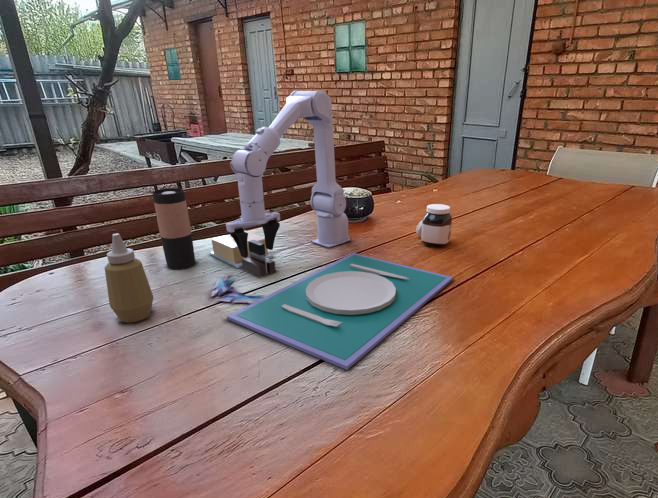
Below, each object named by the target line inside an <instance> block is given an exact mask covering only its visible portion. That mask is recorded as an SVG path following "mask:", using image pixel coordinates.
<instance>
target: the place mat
mask: <svg viewBox="0 0 658 498" xmlns="http://www.w3.org/2000/svg"><path fill="white" fill-rule="evenodd" d="M452 281H454V277H453V276H450V275H446V274H441V273H437V272H433V271H430V270H425V269H422V268H417V267H413V266H409V265H405V264H400V263H397V262H393V261H389V260H385V259H381V258H377V257H372V256H369V255H364V254H360V253H356V252H352V253H349V254H348V255H346V256H344V257H342V258H340V259H338V260H336V261H334V262H332V263H330V264H328V265H325V266H324V267H322V268H320V269H317V270H316V271H314V272H312V273H310V274H308V275H306V276H304V277H302V278H300V279H297V280H295V281H294V282H292V283H290V284H288V285H286V286H284V287H282V288H280V289H278V290H277V291H274V292H272V293H270V294H268V295H266V296H263V297H261V298H262V299H260V300H258V301H256V302H254V303H250V304H248V305H247V306H244V307H242V308H240V309H238V310H237V311H234V312H232V313H230V314H228V315H227V316H226V319H227V320H228V321H230V322H232V323H235V324H238V325H239V326H242V327H245V328H247V329H249V330H252V331H254V332H256V333H259V334H261V335H263V336H266V337H268V338H270V339H273V340H275V341H277V342H279V343H282V344H284V345H287V346H288V347H291V348H294V349H296V350H297V351H301V352H303V353H305V354H308V355H310V356H312V357H315V358H317V359H319V360H322V361H325V362H327V363H329V364H332V365H334V366H336V367H338V368H341V369H343V370H345V371H348V370H349V369H351V367H353V366H354V365H355V364H356V363H357V362H359V361H360V360H361V359H362V358H363V357H364V356H365V355H366V354H368V353H369V352H370V351H371V350H373V349H374V348H375V347H376V346H377V345H379V344H380V343H381V342H382V341H383V340H384V339H385V338H387V337H388V336H389V335H391V333H393V332H394V331H395V330H396V329H397V328H399V327H400V326H401V325H402V324H403V323H404V322H405V321H407V320H409V318H410V317H411V316H412V315H414V314H415V313H417V311H418V310H420V309H421V308H422V307H423V306H424V305H425V304H427V303H428V302H429V301H431V299H432V298H434V297H435V296H436V295H437V294H438V293H439V292H440V291H442V290H443V289H444V288H445V287H447V286H448V285H449V284H450V283H451V282H452Z"/></svg>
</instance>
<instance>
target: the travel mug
mask: <svg viewBox="0 0 658 498" xmlns="http://www.w3.org/2000/svg"><path fill="white" fill-rule="evenodd" d="M151 193H152V200H153V204H154V205H153V206H154V209H155V215H156V221H157V226H158V231H159V236H160V241H161V245H162V250H163V254H164V258H165V262H166V266H167V268H168V269H170V270H171V269H172V270H184V269H188V268H190V267H192V266H194V265H195V264H196V256H195V249H194V242H193V233H192V227H191V222H190V216H189V210H188V204H187V199H186V194H185V190H184V189H183V188H179V187H168V188H159V189H156V190H154V191H152V192H151Z"/></svg>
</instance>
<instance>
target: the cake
mask: <svg viewBox="0 0 658 498" xmlns="http://www.w3.org/2000/svg"><path fill="white" fill-rule="evenodd" d="M243 230H244V229H243ZM244 232H246V233H248V238H247V249H248V257H249V258H250V253H249V243H248V241H250V240H256V241H258V242H261V243H264V244H265V236H262V235H258V234H257V233H253V232H250V231H248V230H244ZM211 244H212V251H209V255H210V256H212V257H214V258H216V259H218V260H220V261H222V262H225V263H226V264H228V265H230V266H233V267H234V268H237V269H243V265H242V258H245V257H242V256H241V254H240V251H239V249H238V246H237V244H236V242H235V241H234V239H233V238H232V236H231V235H229V234H226V235H220V236H217V237H213V238H211ZM265 253H266V254H264V255H265V256H266V258H268V259H273V257H274V256H273V254H270V253H269V249H267V248H266V245H265Z"/></svg>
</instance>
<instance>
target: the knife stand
mask: <svg viewBox="0 0 658 498" xmlns="http://www.w3.org/2000/svg"><path fill="white" fill-rule="evenodd" d="M266 261H267V272H268V274H269V275H271V274H274V273H276V272H277V269H276V261H275V260H273V259H272V258H270V259H268V258H266ZM242 265H243V267H242V270H244V271H246V272H249V273H251V274H252V275H255V276H257V277H259V278H262V277H265V276H267V274H266V268H265V264H263V263H261V262H258V261H256V260H254V259H251V258H249V257H247V258H242Z"/></svg>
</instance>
